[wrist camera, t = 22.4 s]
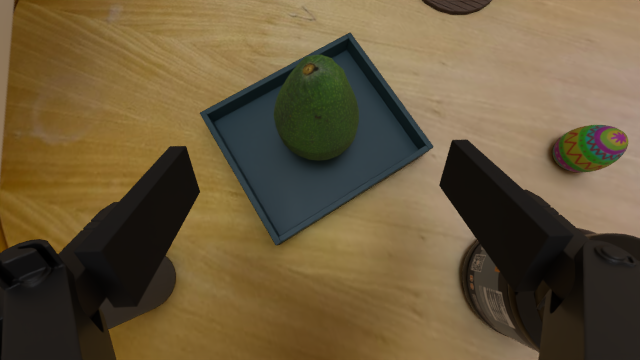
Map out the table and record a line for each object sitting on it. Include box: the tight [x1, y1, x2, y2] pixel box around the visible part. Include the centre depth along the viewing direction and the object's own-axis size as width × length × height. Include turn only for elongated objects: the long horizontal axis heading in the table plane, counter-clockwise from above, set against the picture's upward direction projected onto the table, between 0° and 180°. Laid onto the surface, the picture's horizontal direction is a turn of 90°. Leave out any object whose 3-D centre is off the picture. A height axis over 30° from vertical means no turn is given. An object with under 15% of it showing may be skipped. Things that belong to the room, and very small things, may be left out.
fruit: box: [274, 55, 359, 161], centre depth 25 cm, size 8×8×12 cm
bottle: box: [100, 257, 175, 329], centre depth 21 cm, size 6×6×15 cm
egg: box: [553, 125, 628, 172], centre depth 29 cm, size 5×5×6 cm
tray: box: [200, 33, 433, 245], centre depth 31 cm, size 19×16×3 cm
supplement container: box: [462, 228, 640, 352], centre depth 23 cm, size 10×10×12 cm
